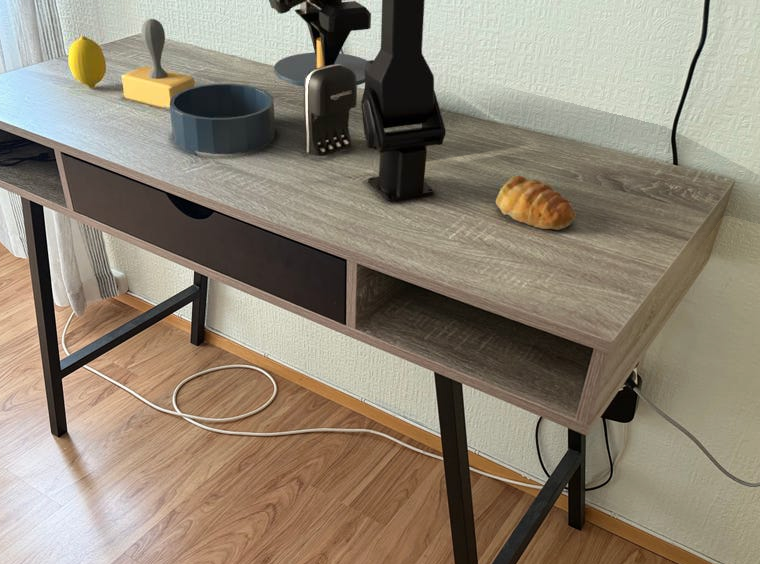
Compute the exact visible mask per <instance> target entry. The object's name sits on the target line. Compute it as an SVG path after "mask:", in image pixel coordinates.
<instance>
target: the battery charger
mask: <svg viewBox="0 0 760 564" xmlns="http://www.w3.org/2000/svg"><path fill="white" fill-rule="evenodd" d="M357 98H358V85H357V81H356V75H355V73H354V72H353V71H352V70H351V69H348V68H346V67H344V66H343V65H341V64H333V65H328V66H323V67H320V68H316V69H313V70H311V71H310V72H308V74H307V75H306V77H305V81H304V87H303V116H304V151H305V152H306V153H308V154H310V155H314V156H317V157H324V156H327V155H331V154H334V153H336V152H340V151H343V150H347V149H349V148H351V147H352V140H351V135H350V130H349V121H350V111H351V109H353V108H357V101H358V99H357Z"/></svg>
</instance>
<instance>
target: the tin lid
mask: <svg viewBox="0 0 760 564" xmlns="http://www.w3.org/2000/svg"><path fill="white" fill-rule="evenodd" d="M367 61H368V60H367V59H365V58H362V57H359V56H356V55H353V54H348V53H341V52H340V53H339V55H338V57H337V59H336V61H335V63H334V64H341V65H343V66H344V67H346V68H348V69H351V70H352V71H353V72H354V73H355V75H356V81H357V86H359V85H363V84H365V66H366V64H367ZM323 66H324V62H323V54H322V46H321V38H318V39H317V58H316V55H315V52H305V53H298V54H297V53H296V54H293V55H289V56H286V57H284V58H282V59H279V60H278V61H277V62H276V63H275V64H274V66H273V73H274V75H275V76H276V77H277V78H278V79H279V80H281V81H282V82H284V83H288V84H291V85H295V86H298V87H303V88H304V81H305V77H306V75H307V74H308V72H310V71H311V70H313V69H316V68H320V67H323Z"/></svg>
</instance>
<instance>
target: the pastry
mask: <svg viewBox="0 0 760 564" xmlns="http://www.w3.org/2000/svg"><path fill="white" fill-rule="evenodd" d="M495 204H496V206H497V207H498V208H499V210H500V212H501V213H502V215H505V216H506V215H507V216H509V217H511V219H513V220H515V221H518V222H520V223H524V224H527V225H528V226H533V227H534V228H539V229H540V230H541V229H543V230H544V229H545V230H548V229H549V230H550V229H552V230H557V231H559V230H562V229H565V228H567V227H568V226H570V225H571V224H572V223H573V221H574V219H575V218H576V212H575V209H574V208H573V207H572V205H571V204H570V202H569V200H567V199H566V198H564V197H563V196H562V195H561V193H560V192H557V191H555V190H554V189H553V188H552V187H551V185H549V184H545V183H544V184H543V183H542V181H540V180H539V179H532V180H528V179H527V178H526V177H525V176H522V175H516V176H513V177H510V178H509V179H508V181H507V182H505V183H504V185H503V186H502V187H501V188H500V191H499V192H498V195H497V197H496V200H495Z"/></svg>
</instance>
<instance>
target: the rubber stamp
mask: <svg viewBox="0 0 760 564" xmlns="http://www.w3.org/2000/svg"><path fill="white" fill-rule="evenodd" d="M140 31H141V32H140V33H141V38H142V39H141V40H142V42H143V44H144V46H145V49H146V50H147V53H148V55H149V57H150V60H151V62H152V63H151V64H152V67H151V66H148V65H145V66H141V67H139V68H137V69H135V70H132V71H129V72H127V73H124V74H122V75H121V82H122V88H123V94H124V99H125V100H129V101H134V102H138V103H141V104H146V105H149V106H153V107H157V108H161V109H166V108H170V105H169V104H170V99H171V98H172V97H173V96H174V95H175V94H176V93H178V92H181V91H183V90H185V89H188V88H192V87H196V85H195V79H194V77H193V76H191V75H185V74H182V73H178V72H173V71H169V70H165V69H164V68H163V67H162V63H161V61H162V55H163V51H164V47H165V43H166V32H165V29H164V26H163V24H162V23H161V21H159V20H157V19H155V18H148V19H146V20H145V21H144V22H143V23H142V25H141V30H140Z"/></svg>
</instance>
